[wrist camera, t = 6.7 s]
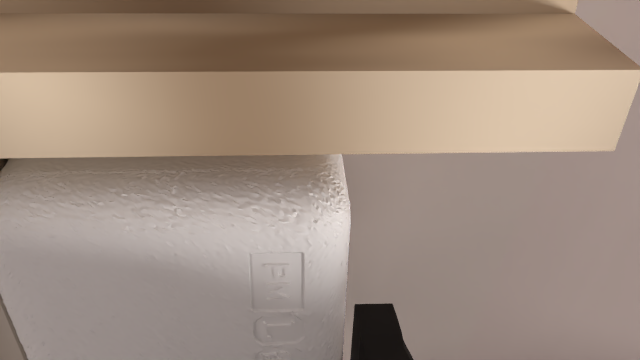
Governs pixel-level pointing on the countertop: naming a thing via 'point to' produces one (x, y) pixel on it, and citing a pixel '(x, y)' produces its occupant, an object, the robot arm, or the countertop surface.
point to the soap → (176, 256)
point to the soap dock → (303, 80)
